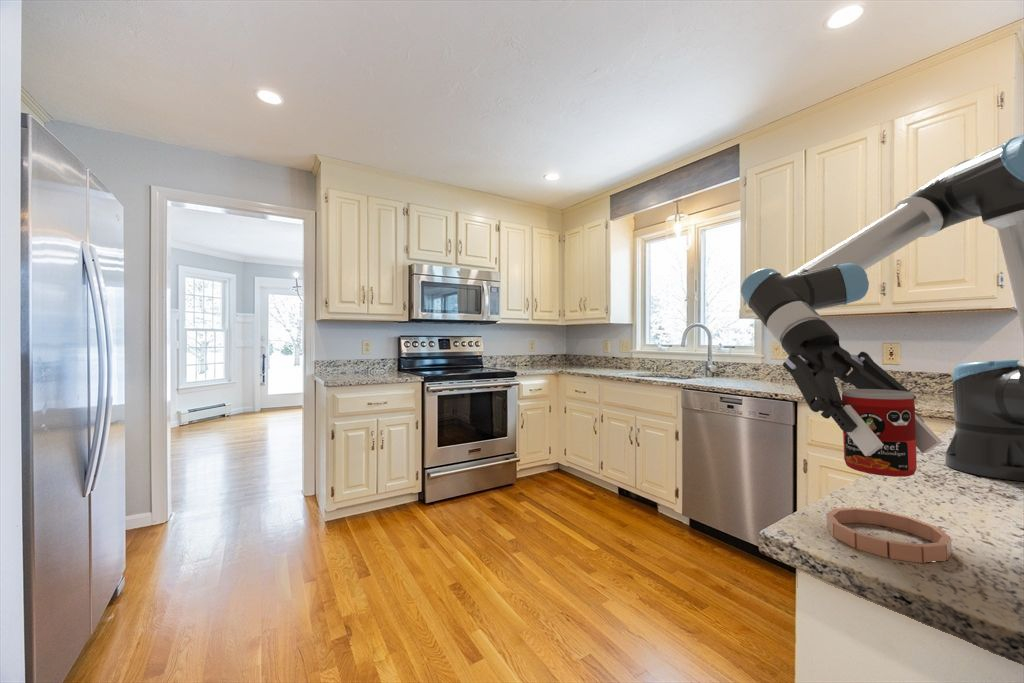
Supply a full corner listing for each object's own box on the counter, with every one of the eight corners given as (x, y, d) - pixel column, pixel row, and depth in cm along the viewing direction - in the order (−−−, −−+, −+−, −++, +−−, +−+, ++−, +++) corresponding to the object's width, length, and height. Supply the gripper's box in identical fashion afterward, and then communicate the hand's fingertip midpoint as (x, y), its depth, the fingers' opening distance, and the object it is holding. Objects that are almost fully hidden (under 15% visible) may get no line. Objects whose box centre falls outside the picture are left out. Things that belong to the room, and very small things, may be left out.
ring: (844, 514, 67) (843, 501, 67) (957, 542, 56) (957, 527, 56) (815, 536, 59) (814, 522, 59) (940, 573, 49) (939, 556, 49)
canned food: (836, 468, 59) (833, 391, 59) (853, 458, 64) (851, 387, 64) (909, 481, 53) (906, 396, 53) (922, 469, 57) (919, 391, 58)
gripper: (843, 347, 75) (949, 459, 58) (736, 350, 73) (816, 467, 56) (870, 316, 70) (995, 429, 53) (756, 317, 67) (851, 436, 51)
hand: (903, 449), depth 55 cm, fingers closed on canned food, 8 cm apart
